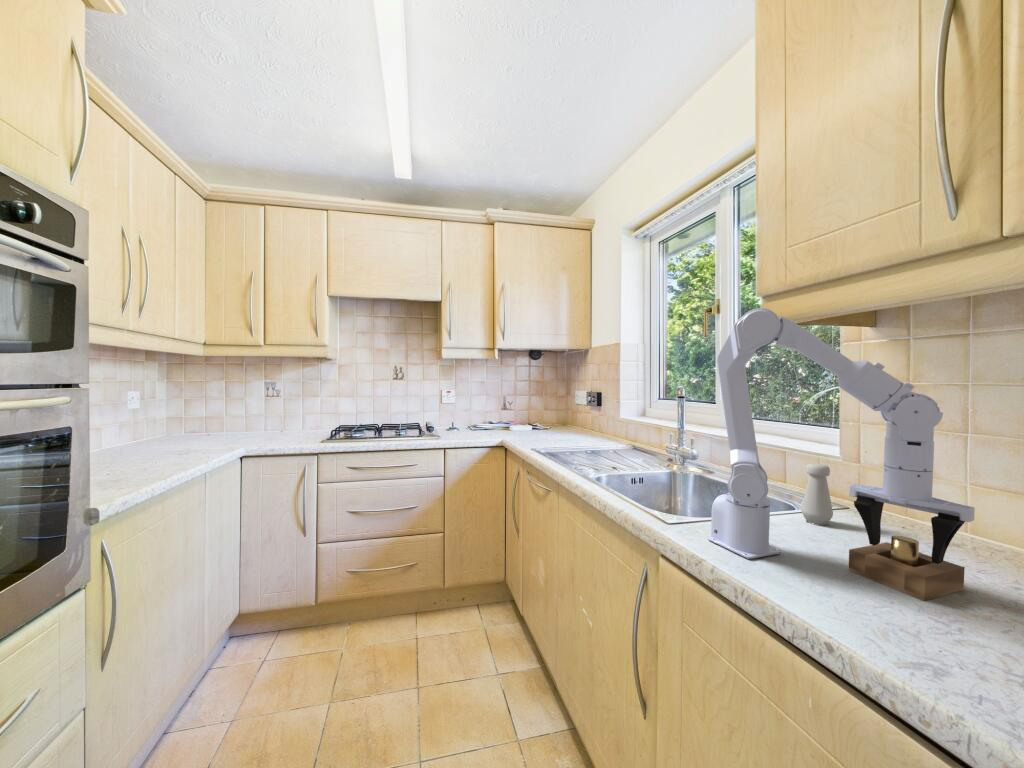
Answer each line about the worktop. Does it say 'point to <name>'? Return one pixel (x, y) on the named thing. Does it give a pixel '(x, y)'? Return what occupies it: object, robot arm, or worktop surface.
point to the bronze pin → (905, 550)
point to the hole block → (907, 572)
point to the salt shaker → (817, 495)
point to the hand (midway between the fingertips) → (904, 552)
